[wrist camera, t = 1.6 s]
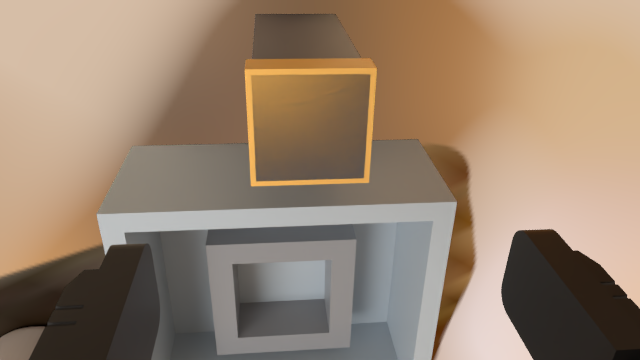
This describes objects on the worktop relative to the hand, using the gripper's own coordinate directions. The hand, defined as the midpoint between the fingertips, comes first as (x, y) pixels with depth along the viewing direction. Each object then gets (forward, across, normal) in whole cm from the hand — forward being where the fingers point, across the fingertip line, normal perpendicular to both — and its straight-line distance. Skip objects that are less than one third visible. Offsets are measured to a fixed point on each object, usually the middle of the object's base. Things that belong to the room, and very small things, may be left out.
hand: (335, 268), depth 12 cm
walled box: (+18, +1, +12) cm, 21 cm away
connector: (+18, 0, 0) cm, 18 cm away
